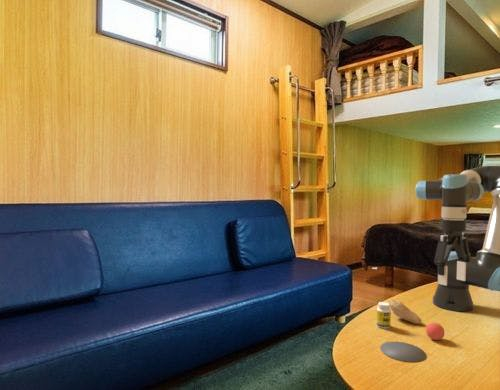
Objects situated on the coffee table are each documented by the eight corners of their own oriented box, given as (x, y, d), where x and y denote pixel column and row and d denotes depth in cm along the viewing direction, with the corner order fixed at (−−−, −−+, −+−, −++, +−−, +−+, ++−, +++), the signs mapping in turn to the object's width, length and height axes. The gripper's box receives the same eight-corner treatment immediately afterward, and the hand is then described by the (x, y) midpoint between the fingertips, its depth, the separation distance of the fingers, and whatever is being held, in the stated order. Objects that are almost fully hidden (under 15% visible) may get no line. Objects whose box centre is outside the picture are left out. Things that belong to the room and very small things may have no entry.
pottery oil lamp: (415, 328, 127) (416, 309, 127) (384, 318, 136) (384, 300, 136) (425, 322, 133) (426, 303, 132) (394, 313, 142) (395, 296, 141)
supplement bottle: (383, 330, 126) (384, 306, 125) (373, 325, 130) (374, 302, 129) (393, 327, 128) (393, 304, 127) (382, 322, 132) (383, 300, 132)
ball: (436, 335, 121) (436, 319, 121) (448, 342, 116) (448, 325, 116) (422, 336, 120) (422, 320, 120) (433, 343, 115) (433, 327, 115)
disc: (408, 340, 117) (408, 340, 117) (436, 360, 104) (436, 359, 104) (372, 343, 114) (372, 343, 114) (396, 364, 102) (396, 363, 102)
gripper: (445, 221, 113) (443, 289, 113) (482, 218, 124) (480, 280, 125) (423, 219, 119) (421, 284, 120) (461, 216, 131) (459, 275, 132)
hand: (451, 282), depth 122 cm, fingers open, 11 cm apart
